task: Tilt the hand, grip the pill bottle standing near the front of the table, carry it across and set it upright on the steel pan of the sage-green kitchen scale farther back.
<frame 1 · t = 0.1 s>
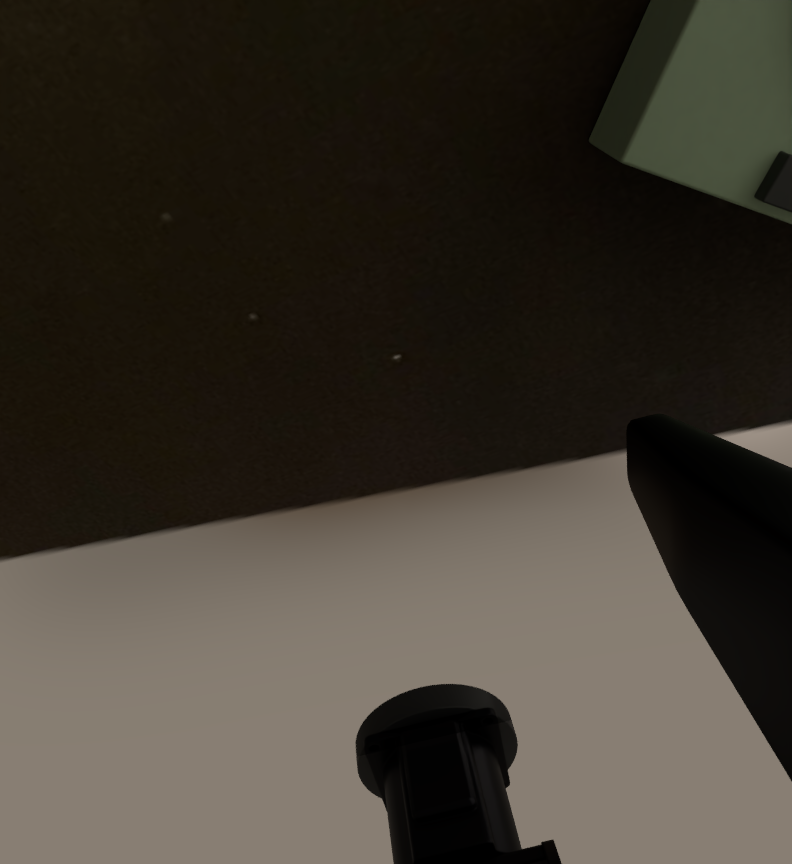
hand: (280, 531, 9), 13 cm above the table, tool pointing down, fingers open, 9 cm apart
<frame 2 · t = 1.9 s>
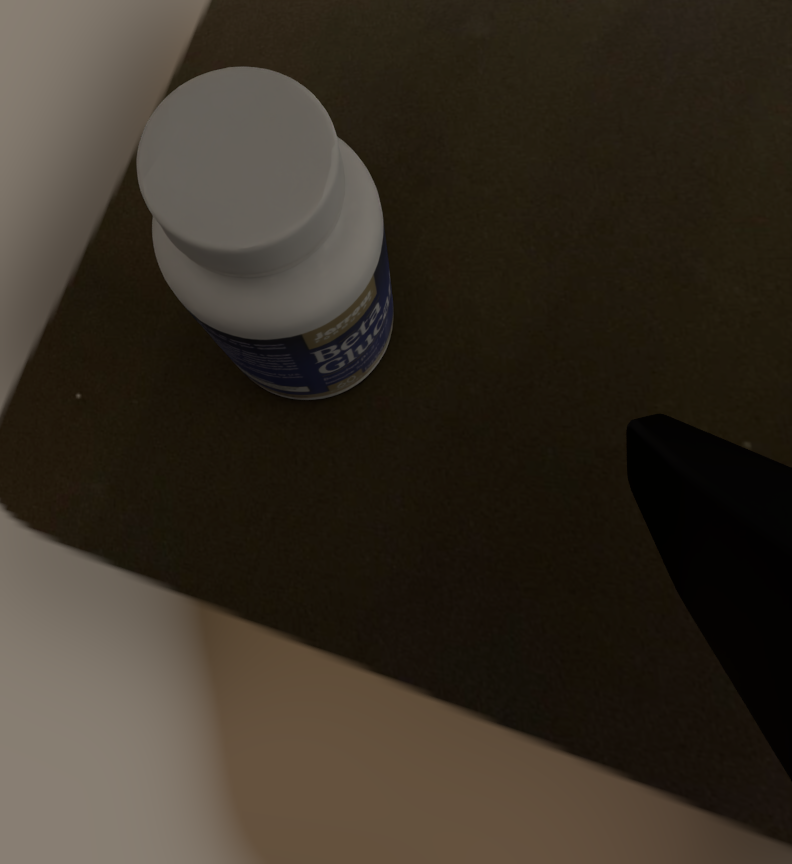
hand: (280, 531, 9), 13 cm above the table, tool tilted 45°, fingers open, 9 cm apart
pill bottle: (313, 324, 24), on the table
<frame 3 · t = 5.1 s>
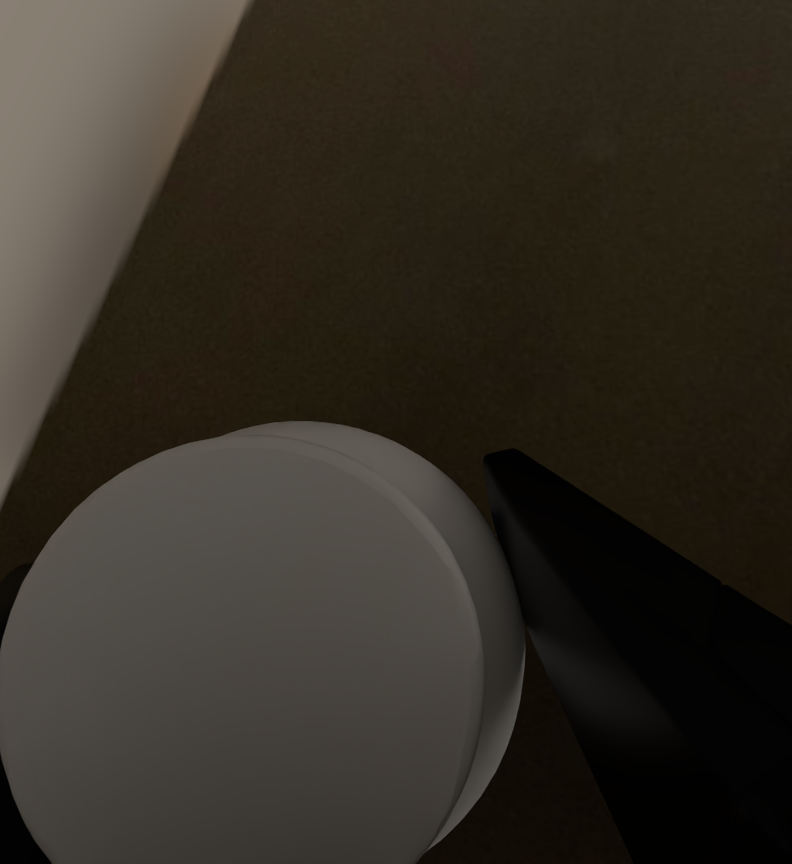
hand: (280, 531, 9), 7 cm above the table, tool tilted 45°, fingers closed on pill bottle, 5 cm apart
pill bottle: (355, 614, 16), on the table, touching gripper
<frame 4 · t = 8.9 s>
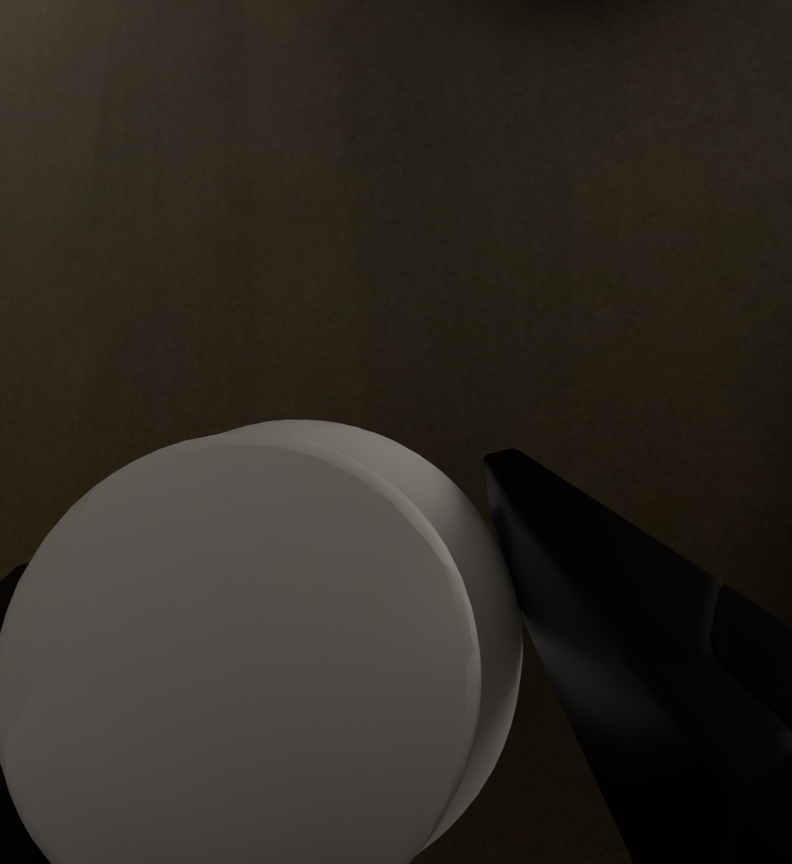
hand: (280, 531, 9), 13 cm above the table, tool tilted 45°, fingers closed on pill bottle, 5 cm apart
pill bottle: (353, 613, 16), point 7 cm above the table, touching gripper
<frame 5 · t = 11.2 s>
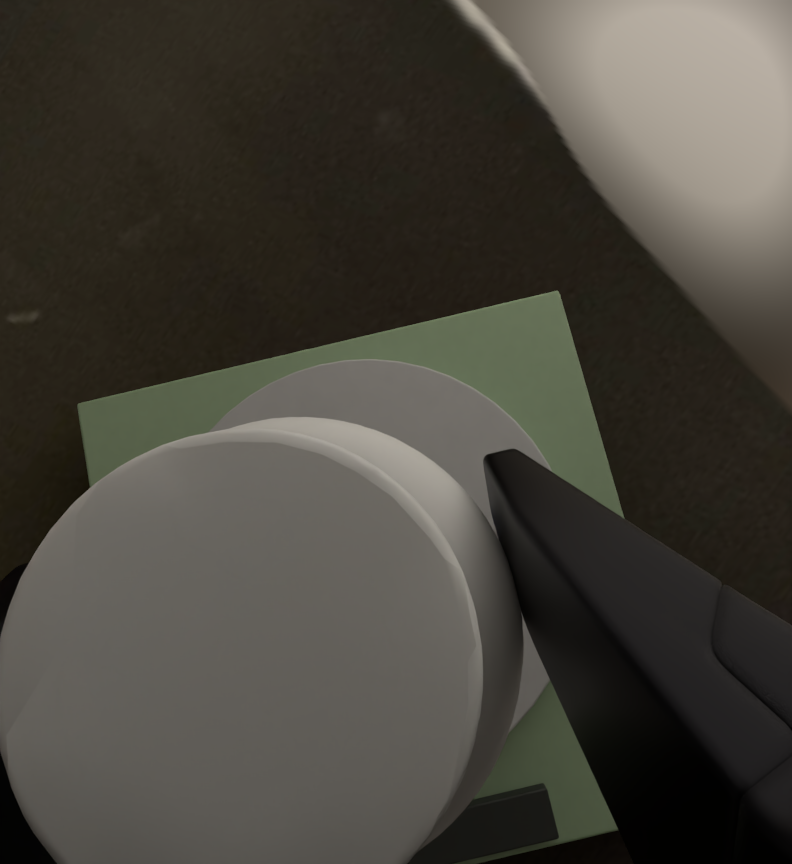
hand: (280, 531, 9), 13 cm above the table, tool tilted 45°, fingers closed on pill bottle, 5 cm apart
scale: (377, 590, 22), on the table
pill bottle: (354, 611, 16), point 6 cm above the table, touching gripper
when the fingers open (10 cm above the table, at t = 12.9 s): pill bottle stays where it is, resting on scale.
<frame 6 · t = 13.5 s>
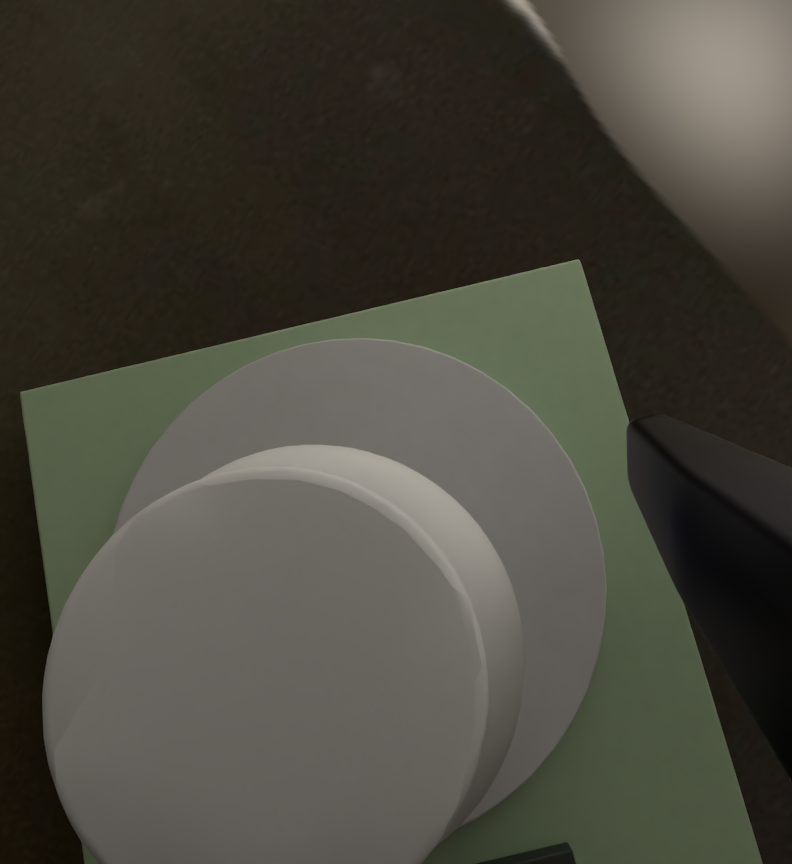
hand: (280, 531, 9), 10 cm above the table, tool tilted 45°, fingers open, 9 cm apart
scale: (370, 609, 19), on the table
pill bottle: (361, 621, 16), point 3 cm above the table, touching scale
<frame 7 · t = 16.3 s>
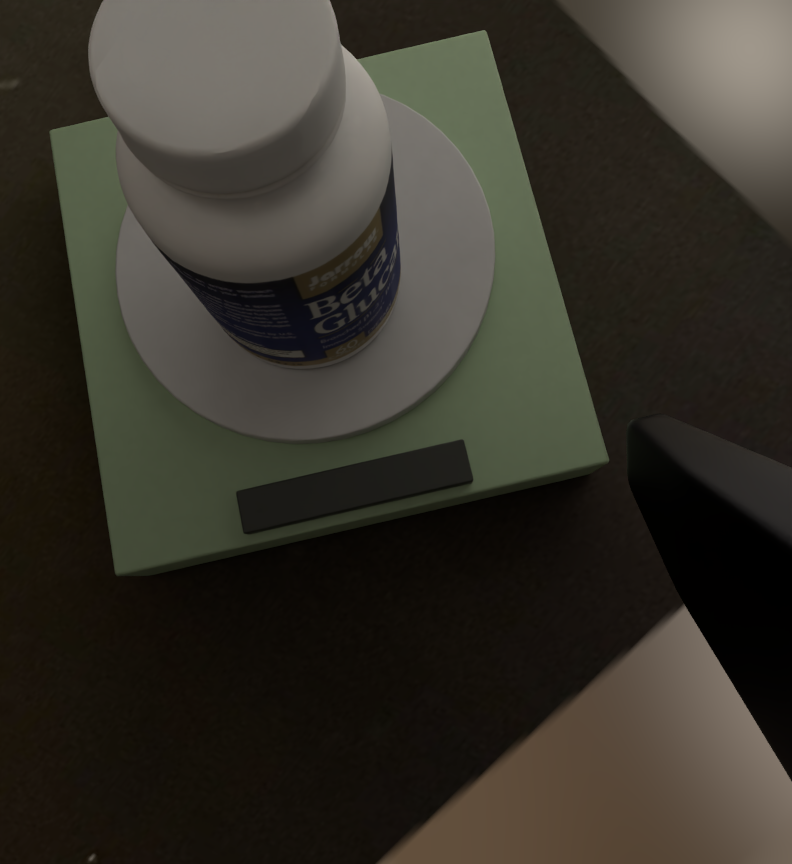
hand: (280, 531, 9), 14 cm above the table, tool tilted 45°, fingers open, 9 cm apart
scale: (323, 313, 24), on the table
pill bottle: (309, 284, 21), point 3 cm above the table, touching scale
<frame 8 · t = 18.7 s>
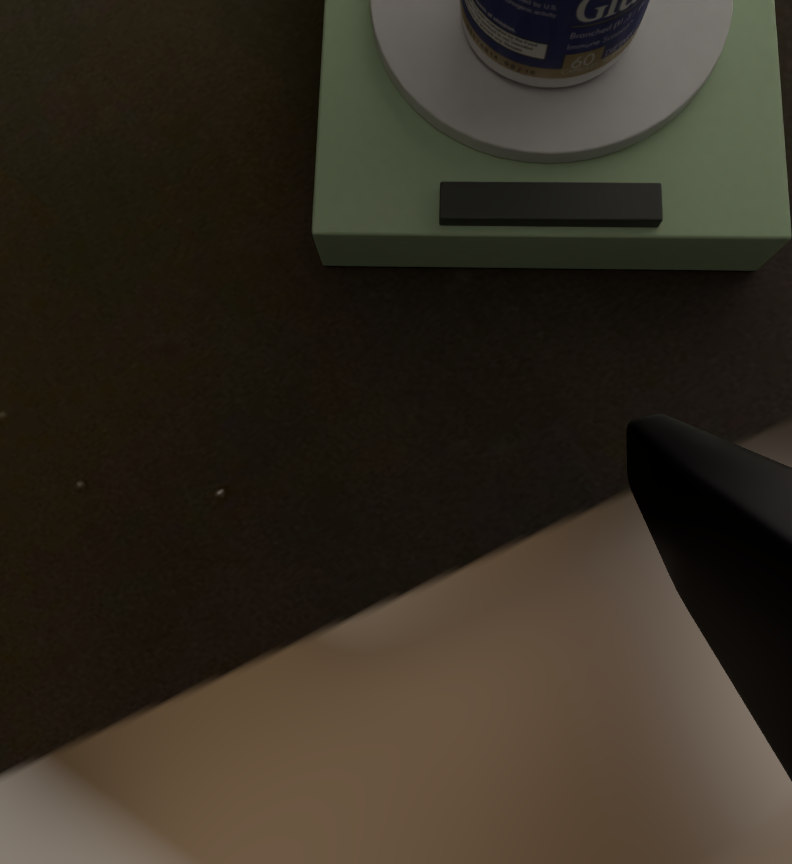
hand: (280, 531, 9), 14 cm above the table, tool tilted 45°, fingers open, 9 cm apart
scale: (535, 76, 25), on the table
pill bottle: (547, 20, 23), point 3 cm above the table, touching scale
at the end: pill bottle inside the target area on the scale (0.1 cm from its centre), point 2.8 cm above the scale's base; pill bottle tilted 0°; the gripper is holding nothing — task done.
